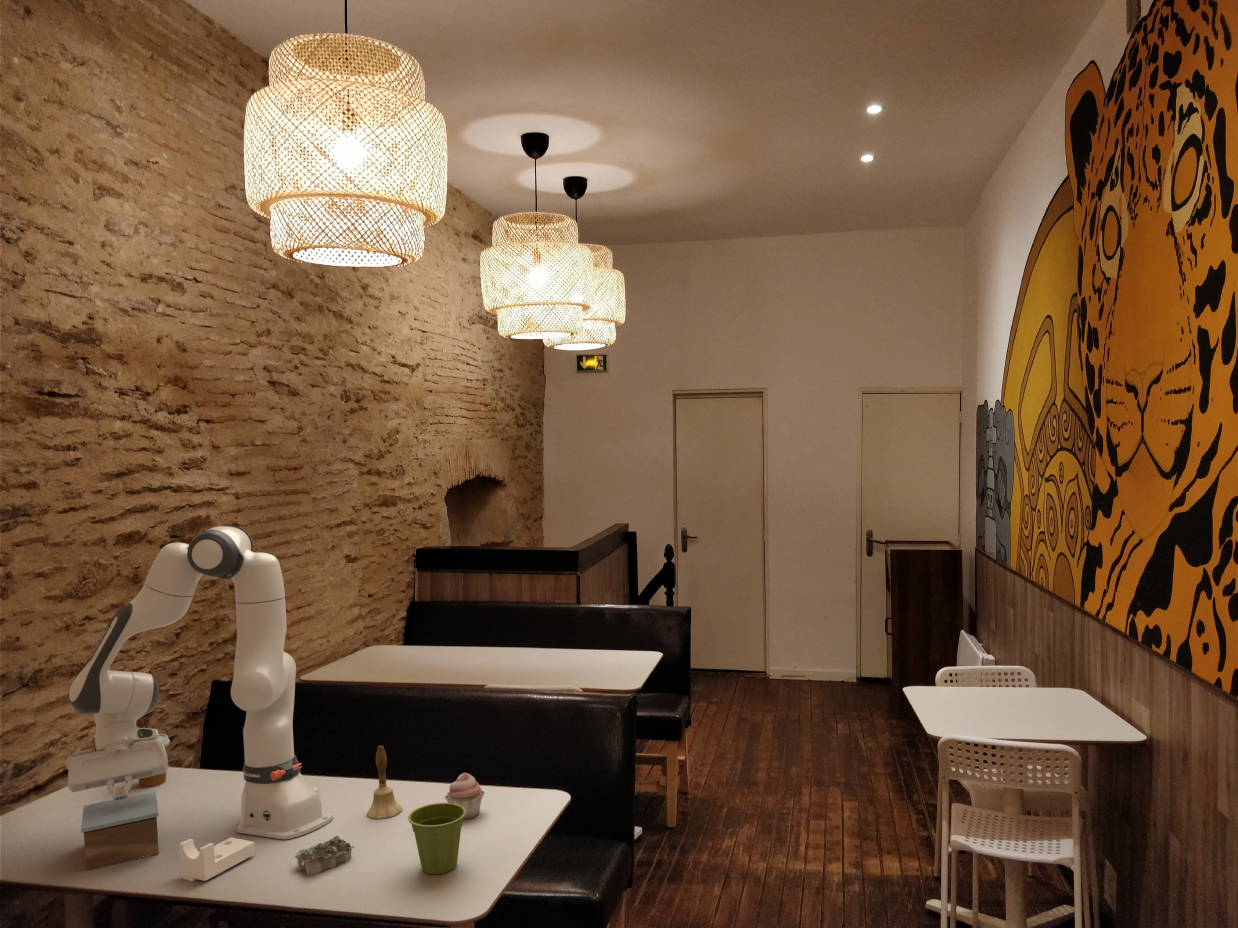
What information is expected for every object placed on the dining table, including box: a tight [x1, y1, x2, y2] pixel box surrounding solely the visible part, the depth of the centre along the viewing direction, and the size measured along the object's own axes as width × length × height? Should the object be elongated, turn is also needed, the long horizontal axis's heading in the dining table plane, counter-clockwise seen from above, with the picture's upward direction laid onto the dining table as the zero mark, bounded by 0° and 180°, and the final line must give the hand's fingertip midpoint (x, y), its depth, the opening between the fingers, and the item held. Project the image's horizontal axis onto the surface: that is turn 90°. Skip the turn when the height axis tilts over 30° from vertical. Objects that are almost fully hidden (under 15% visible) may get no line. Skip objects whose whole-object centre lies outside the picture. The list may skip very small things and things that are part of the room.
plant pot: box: [407, 802, 466, 875], centre depth 190 cm, size 12×12×11 cm
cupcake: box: [444, 772, 486, 820], centre depth 217 cm, size 9×9×10 cm
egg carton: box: [294, 835, 355, 876], centre depth 195 cm, size 11×8×4 cm
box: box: [83, 817, 160, 871], centre depth 207 cm, size 16×14×8 cm
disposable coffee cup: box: [138, 733, 171, 788], centre depth 249 cm, size 10×10×12 cm
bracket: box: [178, 837, 256, 882], centre depth 195 cm, size 13×7×8 cm, turn 155°
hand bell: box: [366, 745, 403, 820], centre depth 221 cm, size 8×8×16 cm
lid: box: [80, 791, 160, 834], centre depth 207 cm, size 17×15×1 cm
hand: (120, 798), depth 207 cm, fingers closed
